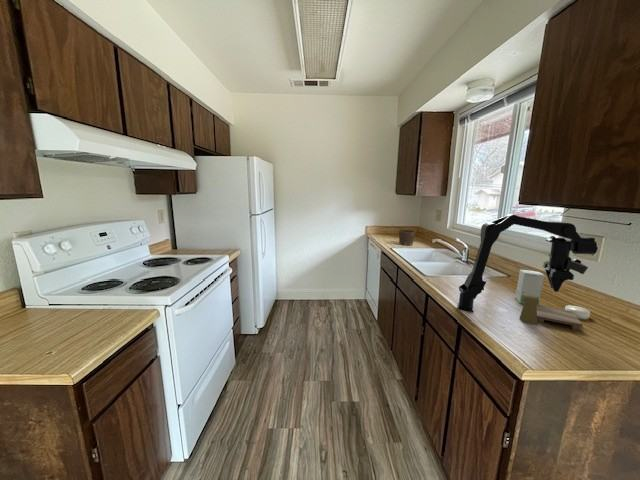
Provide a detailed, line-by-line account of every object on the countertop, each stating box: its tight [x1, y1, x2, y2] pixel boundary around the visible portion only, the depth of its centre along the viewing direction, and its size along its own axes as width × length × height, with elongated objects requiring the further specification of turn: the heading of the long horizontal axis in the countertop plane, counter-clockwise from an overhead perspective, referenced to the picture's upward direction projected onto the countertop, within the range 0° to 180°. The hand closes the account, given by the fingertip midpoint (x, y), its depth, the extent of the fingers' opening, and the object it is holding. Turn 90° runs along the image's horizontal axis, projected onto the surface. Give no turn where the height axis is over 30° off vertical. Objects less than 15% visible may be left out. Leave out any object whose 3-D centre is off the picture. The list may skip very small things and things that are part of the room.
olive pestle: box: [518, 295, 540, 325], centre depth 110 cm, size 6×6×11 cm
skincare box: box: [514, 269, 545, 305], centre depth 130 cm, size 8×7×16 cm
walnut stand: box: [537, 304, 584, 332], centre depth 112 cm, size 14×14×3 cm
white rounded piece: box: [564, 304, 591, 320], centre depth 117 cm, size 8×8×3 cm
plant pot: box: [397, 229, 417, 247], centre depth 261 cm, size 16×16×16 cm
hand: (554, 289), depth 109 cm, fingers open, 5 cm apart
